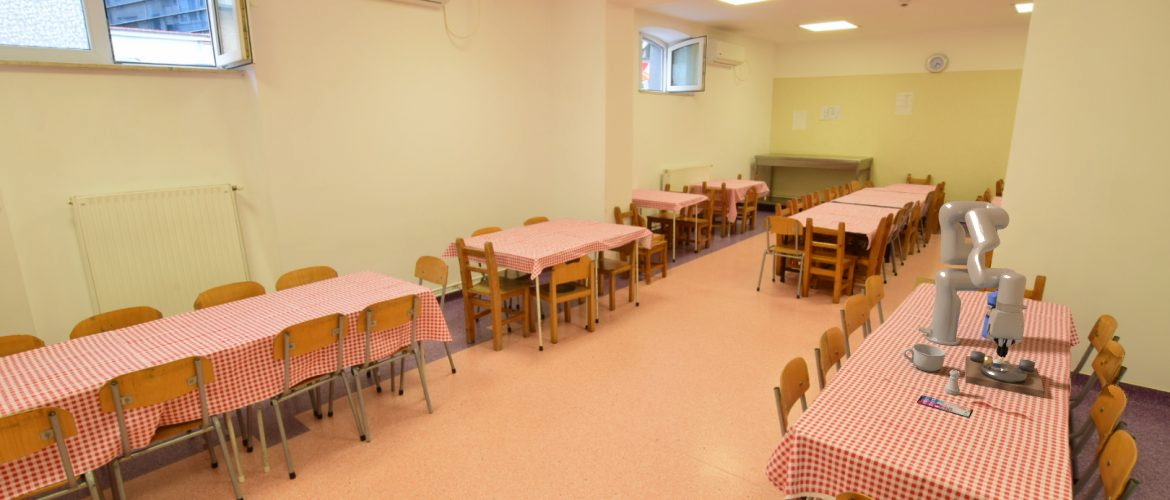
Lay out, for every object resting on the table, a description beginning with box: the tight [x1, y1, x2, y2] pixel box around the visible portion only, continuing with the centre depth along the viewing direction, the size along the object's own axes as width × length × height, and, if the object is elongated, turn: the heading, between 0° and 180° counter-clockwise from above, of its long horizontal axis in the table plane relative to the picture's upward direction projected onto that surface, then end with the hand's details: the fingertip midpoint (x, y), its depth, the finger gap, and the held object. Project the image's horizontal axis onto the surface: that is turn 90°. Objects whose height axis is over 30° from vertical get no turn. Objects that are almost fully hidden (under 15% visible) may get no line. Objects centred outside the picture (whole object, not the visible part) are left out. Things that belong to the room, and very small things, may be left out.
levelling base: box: [964, 350, 1045, 399], centre depth 207 cm, size 22×22×6 cm
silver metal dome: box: [981, 355, 1027, 384], centre depth 203 cm, size 13×13×6 cm
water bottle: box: [981, 288, 1005, 342], centre depth 245 cm, size 9×9×25 cm
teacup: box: [902, 343, 946, 373], centre depth 216 cm, size 14×11×8 cm
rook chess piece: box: [944, 369, 961, 396], centre depth 196 cm, size 4×4×8 cm
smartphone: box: [916, 395, 974, 418], centre depth 187 cm, size 8×1×15 cm
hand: (1001, 355), depth 207 cm, fingers closed
